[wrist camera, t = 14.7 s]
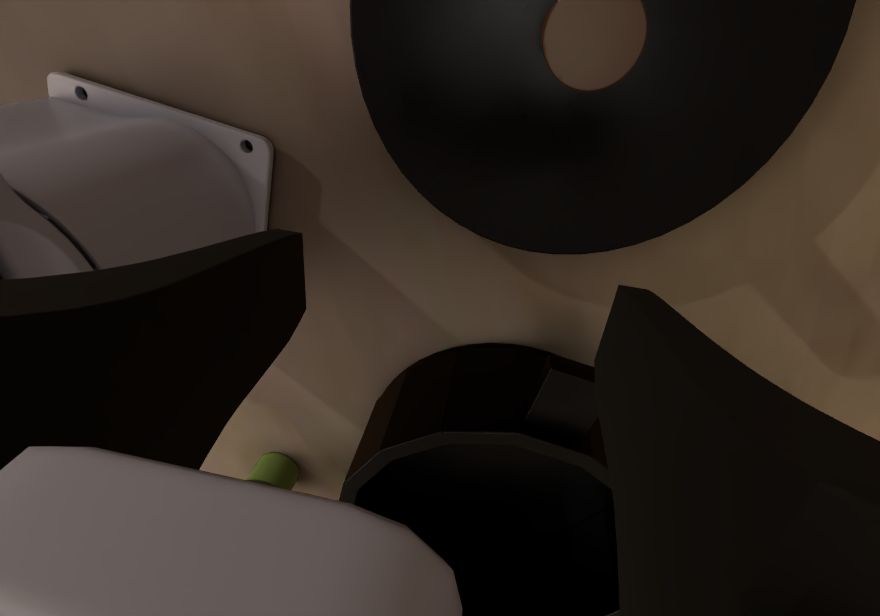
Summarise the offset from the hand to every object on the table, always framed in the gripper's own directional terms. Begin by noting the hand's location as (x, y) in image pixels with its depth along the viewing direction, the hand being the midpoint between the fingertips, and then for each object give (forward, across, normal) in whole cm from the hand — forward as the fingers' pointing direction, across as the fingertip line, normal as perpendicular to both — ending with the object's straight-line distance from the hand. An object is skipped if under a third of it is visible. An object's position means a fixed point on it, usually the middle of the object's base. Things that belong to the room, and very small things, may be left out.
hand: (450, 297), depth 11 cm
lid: (+9, -2, -5) cm, 11 cm away
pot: (+10, -3, +15) cm, 18 cm away
